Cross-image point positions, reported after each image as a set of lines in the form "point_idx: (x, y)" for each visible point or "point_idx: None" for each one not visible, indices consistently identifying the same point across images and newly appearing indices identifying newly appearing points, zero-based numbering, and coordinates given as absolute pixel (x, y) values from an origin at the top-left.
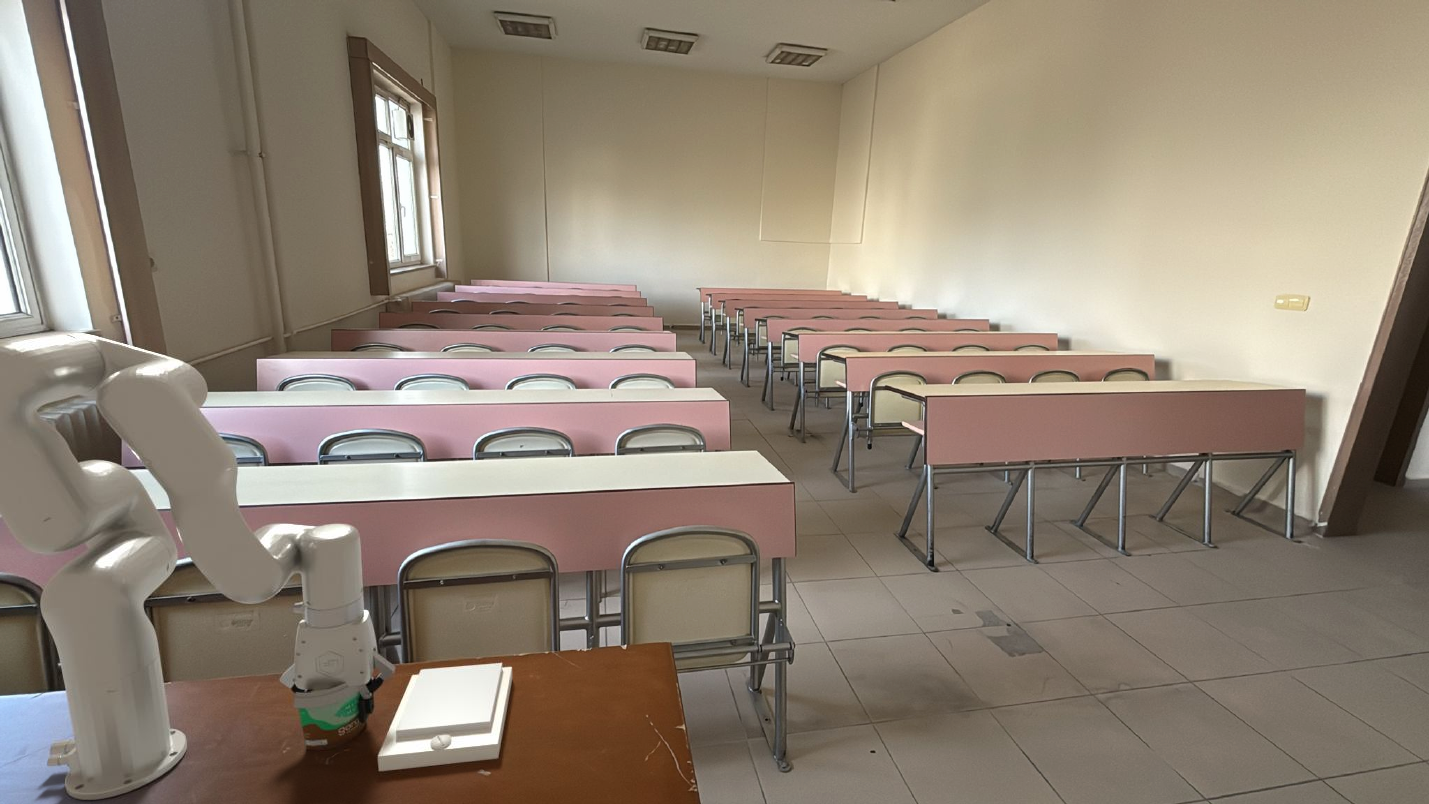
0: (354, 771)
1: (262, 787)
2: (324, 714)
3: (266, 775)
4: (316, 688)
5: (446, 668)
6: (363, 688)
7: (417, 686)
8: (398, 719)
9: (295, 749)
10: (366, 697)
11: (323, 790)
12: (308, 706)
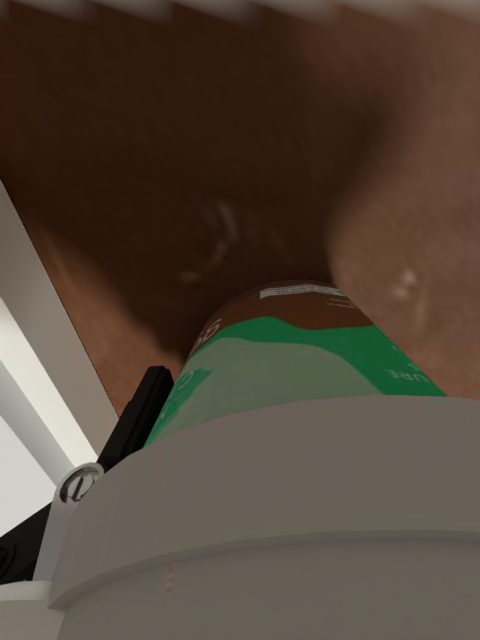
0: (85, 152)
1: (446, 40)
2: (252, 368)
3: (446, 135)
4: None
5: None
6: (64, 537)
7: (52, 494)
8: (29, 374)
9: (373, 284)
10: (92, 470)
11: (141, 8)
12: (371, 411)
